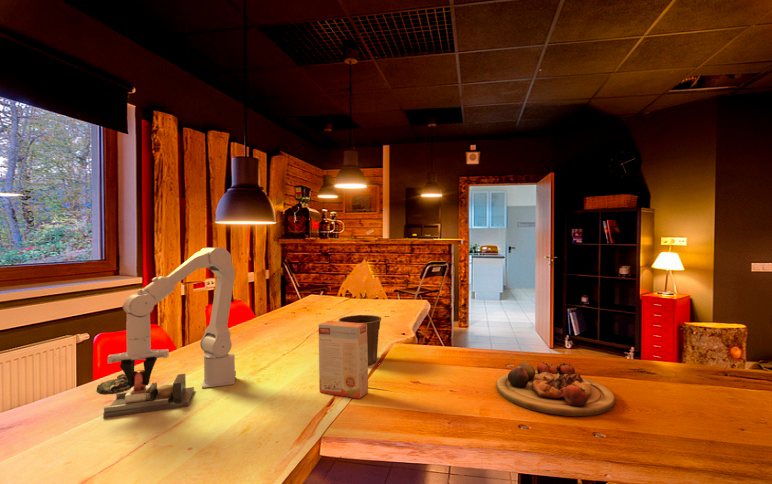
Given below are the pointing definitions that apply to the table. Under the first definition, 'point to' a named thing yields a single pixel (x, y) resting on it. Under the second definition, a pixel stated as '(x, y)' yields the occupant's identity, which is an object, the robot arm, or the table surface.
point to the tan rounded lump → (165, 392)
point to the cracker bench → (179, 400)
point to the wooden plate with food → (554, 390)
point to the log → (114, 385)
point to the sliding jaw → (140, 389)
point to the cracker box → (343, 359)
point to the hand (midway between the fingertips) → (139, 385)
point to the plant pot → (368, 332)
